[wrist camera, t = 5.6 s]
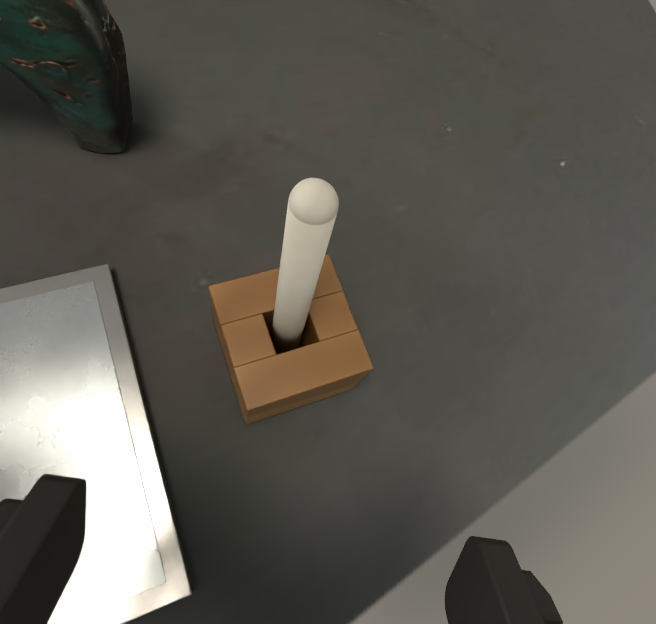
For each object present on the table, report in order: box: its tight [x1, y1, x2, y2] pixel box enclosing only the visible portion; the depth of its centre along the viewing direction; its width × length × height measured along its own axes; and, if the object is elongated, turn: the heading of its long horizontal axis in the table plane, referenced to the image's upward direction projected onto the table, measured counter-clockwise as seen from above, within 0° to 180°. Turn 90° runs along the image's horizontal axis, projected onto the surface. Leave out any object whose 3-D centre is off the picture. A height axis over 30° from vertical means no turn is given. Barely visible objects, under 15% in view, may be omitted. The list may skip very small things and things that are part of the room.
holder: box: [209, 255, 373, 425], centre depth 25 cm, size 6×6×5 cm
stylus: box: [271, 178, 339, 355], centre depth 21 cm, size 2×2×15 cm
